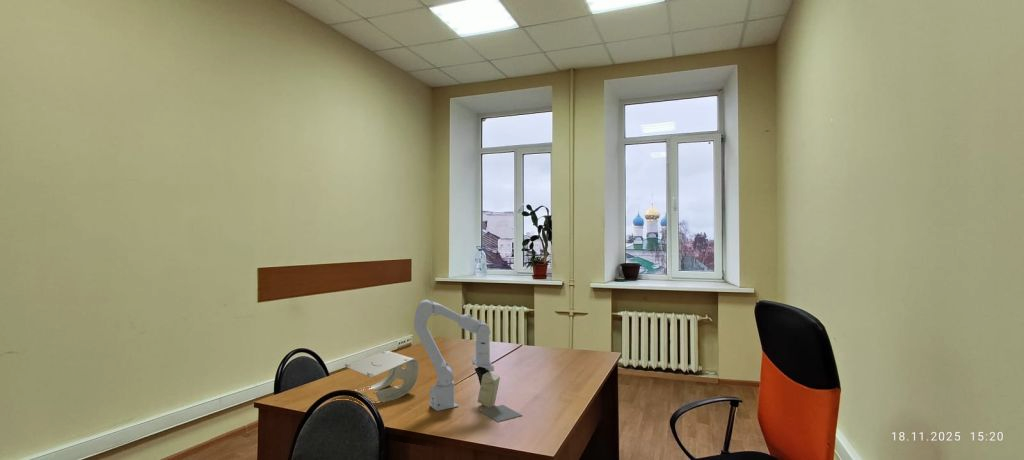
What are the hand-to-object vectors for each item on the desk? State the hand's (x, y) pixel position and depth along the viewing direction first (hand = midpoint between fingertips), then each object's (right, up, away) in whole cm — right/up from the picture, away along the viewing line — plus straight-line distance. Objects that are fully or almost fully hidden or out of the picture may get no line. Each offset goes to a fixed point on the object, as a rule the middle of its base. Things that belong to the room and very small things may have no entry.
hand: (483, 385), depth 190 cm
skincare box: (+1, -7, -2) cm, 7 cm away
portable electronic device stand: (-46, -9, +15) cm, 50 cm away
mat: (+7, -7, -12) cm, 15 cm away
